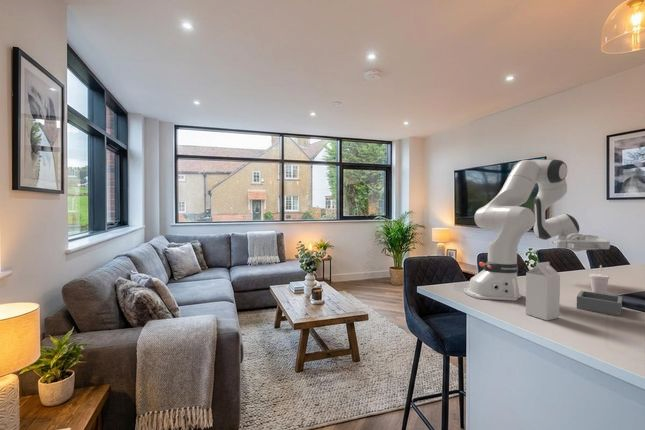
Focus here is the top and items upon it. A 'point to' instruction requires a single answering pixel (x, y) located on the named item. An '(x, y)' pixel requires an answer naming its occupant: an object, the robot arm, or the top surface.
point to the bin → (599, 302)
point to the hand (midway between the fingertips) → (588, 246)
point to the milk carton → (543, 292)
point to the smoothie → (599, 282)
